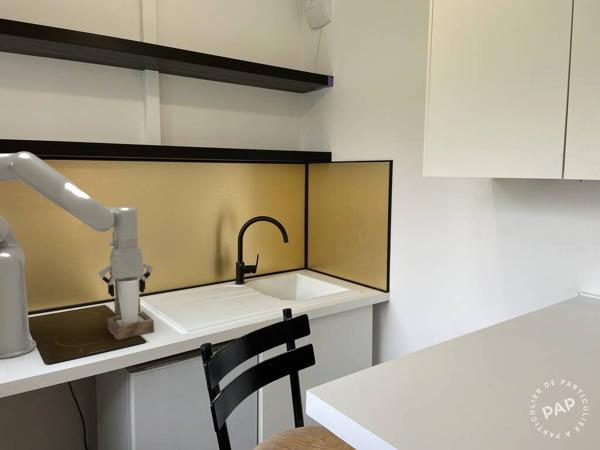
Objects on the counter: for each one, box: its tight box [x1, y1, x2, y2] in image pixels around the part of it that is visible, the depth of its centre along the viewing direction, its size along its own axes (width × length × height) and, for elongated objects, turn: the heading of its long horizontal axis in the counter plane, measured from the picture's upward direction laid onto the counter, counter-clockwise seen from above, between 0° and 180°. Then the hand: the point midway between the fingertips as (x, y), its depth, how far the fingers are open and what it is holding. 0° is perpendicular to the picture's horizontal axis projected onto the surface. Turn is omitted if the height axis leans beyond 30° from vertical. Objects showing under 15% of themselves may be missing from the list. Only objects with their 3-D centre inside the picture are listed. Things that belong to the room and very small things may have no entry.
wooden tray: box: [107, 310, 155, 341], centre depth 151 cm, size 12×12×4 cm
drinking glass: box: [117, 277, 140, 324], centre depth 150 cm, size 7×7×15 cm
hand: (127, 293), depth 150 cm, fingers open, 9 cm apart
